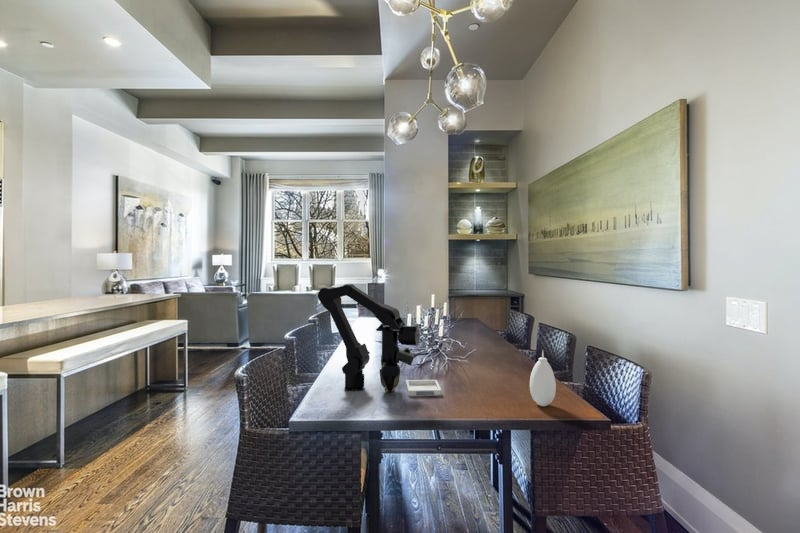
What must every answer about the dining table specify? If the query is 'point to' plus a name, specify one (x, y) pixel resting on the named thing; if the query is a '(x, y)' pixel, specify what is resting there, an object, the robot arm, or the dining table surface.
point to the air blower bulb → (542, 382)
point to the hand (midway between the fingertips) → (389, 387)
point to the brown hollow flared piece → (393, 384)
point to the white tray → (423, 388)
